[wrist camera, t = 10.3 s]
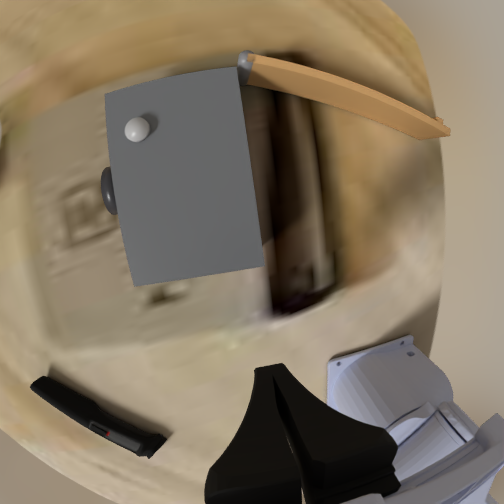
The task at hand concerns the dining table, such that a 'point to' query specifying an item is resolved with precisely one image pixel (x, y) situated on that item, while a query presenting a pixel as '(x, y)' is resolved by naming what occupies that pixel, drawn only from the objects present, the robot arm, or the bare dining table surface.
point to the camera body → (182, 177)
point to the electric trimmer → (97, 418)
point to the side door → (336, 94)
